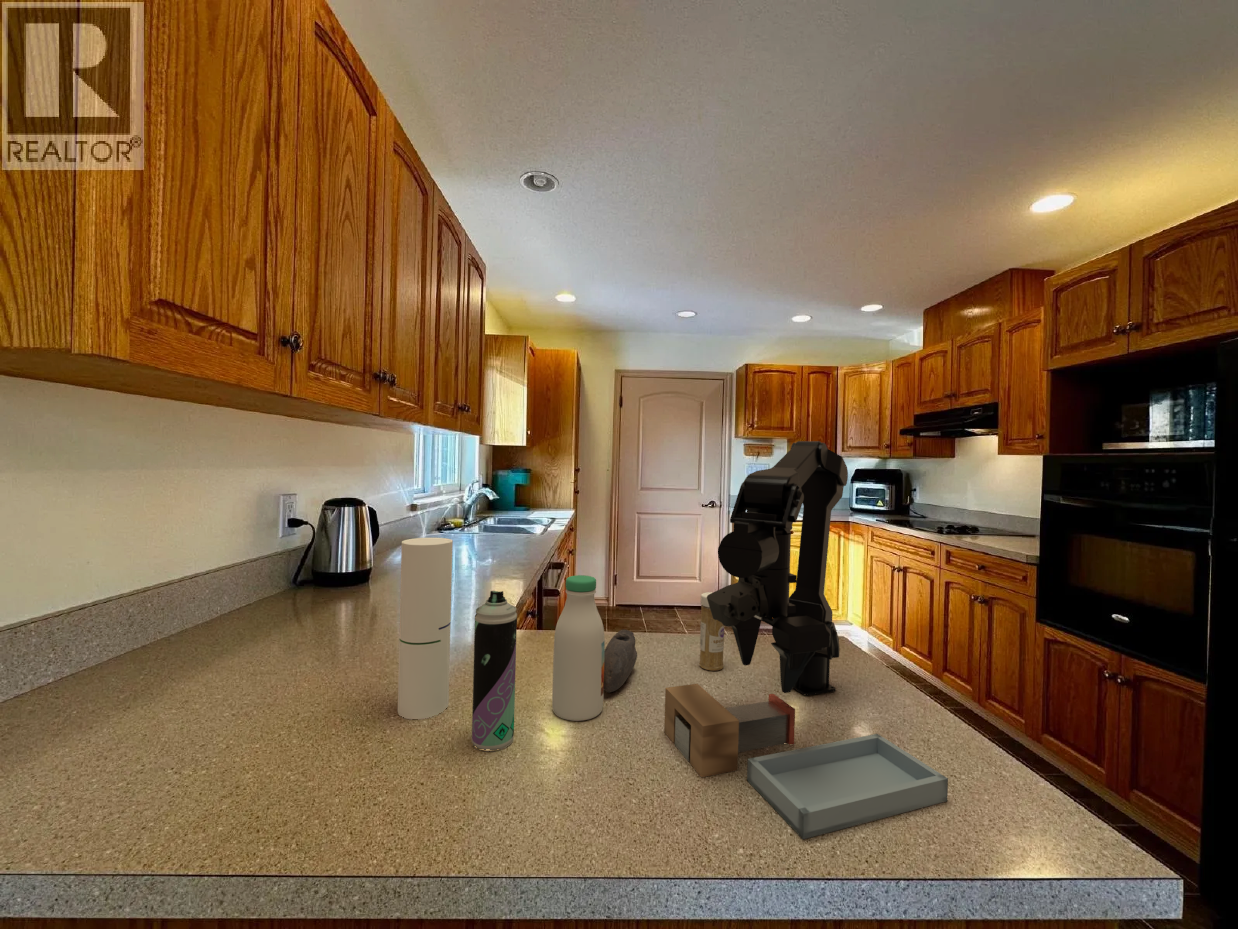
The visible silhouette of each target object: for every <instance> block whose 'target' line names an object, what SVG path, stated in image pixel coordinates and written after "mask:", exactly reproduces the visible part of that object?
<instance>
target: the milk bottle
mask: <svg viewBox="0 0 1238 929" xmlns="http://www.w3.org/2000/svg"><path fill="white" fill-rule="evenodd" d="M596 588H597V579H596V577H594V576H591V575H580V574H578V575H577V574H576V575H571V576H568V577H567V578H566V579H565V593H566V600H565V603H564V607H563V609H562V611H561V614H560V616H559V617H558V620H557V623H556V625H555V630H554V635H553V636H554V638H553V639H554V640H553V658H552V659H553V662H552V692H551V693H552V695H551V708H552V711H553V713H554V714H555V715H556V716H557V717H559V718H560V719H564V720H568V721H573V722H574V721H575V722H577V721H578V722H581V721H586V720H587V721H588V720H592V719H594V718H595V717H597V716H599V715H600V714H601V712H602V711H603V708H604V691H605V690H604V652H605V648H606V647H605V641H606V640H605V628H604V624H603V620H602V617H601V615H600V613H599V610H598V607H597V604H596V600H595V594H597V591H596V590H597V589H596Z"/></svg>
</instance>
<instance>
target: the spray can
mask: <svg viewBox="0 0 1238 929" xmlns="http://www.w3.org/2000/svg"><path fill="white" fill-rule="evenodd" d="M489 593H490V594H489V597H488V599H486V600H485V603H484V604H482V605H480V606H478V607H477V608H476V609H475V613H476V614H475V615H474V634H473V636H474V637H473V671H472V673H473V675H472V677H473V678H472V679H473V680H472V714H471V715H472V717H471V744H472V743H473V745H474V746H476V747H477V748H479V749H484V750H486V749H490V750H497V749H501V750H504V749H506V748H507V746H508V747H509V746H510V745H511V744H512V743H513V742H514V738H515V737H514V736H515V707H516V705H515V702H516V701H515V700H516V666H517V664H516V662H517V629H518V628H517V627H518V626H517V624H518V613H517V607H516V606H515V605H512V604H511V603H509V602H508V600H507V599H506V597H505V596H504V591H503V590H502V591H496V590H490V592H489ZM473 745H472V746H473ZM503 748H504V749H503Z"/></svg>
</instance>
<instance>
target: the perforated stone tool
mask: <svg viewBox="0 0 1238 929" xmlns="http://www.w3.org/2000/svg"><path fill="white" fill-rule="evenodd" d="M637 658H638V652H637V649H636V638H635V634H634V632H633V631H631V630H628V629H620V630H619V631H618V632H616V633H615V634H614V635H613V636H612V637H611V639H609V642H608V643H607V645H606V647H605V652H604V691H605V693H612V692H616V691H617V690H619V689H620V688H621V687H622V686H623V685H624V683H625V682H626V681H627V680H628V678H629V677H630V675H631V673H632V671H633V670H634V668H635V665H636V662H637Z"/></svg>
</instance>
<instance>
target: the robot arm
mask: <svg viewBox="0 0 1238 929" xmlns="http://www.w3.org/2000/svg"><path fill="white" fill-rule="evenodd" d="M848 475H849V471H848V466H847V464H846V462H845V459H844V458H843V456H842V455H841V454H837V453H836V452H834V451H832V450H830V449H829V448H828V447H827V444H826V442H821V441H819V440H817V441H815V440H812V441H811V440H809V441H806V440H805V441H802V440H800V441H799V440H797V441H796V442H793V443H792V444H791V446H790V450H788V452H786V454H784V455H783V457H782V458H781V459H779V461H778V462H776V463H775V464H774V465H773V467H771V468H767V469H760V470H756V471H753V472H750V473H749V474H748V475H746V477H745V479H744V481H742V483H741V485H740V486H739V490H738V494H737V496H736V499H735V502H734V505H733V508H732V512H731V514H730V518H729V523H731V524H733V530H732V531H731V532H729V533H727V534H726V535H724V536H723V537H722V539H721V541H720V543H719V545H718V547H717V556H718V557H717V558H718V560H719V563H720V565H721V567H722V569H724V571H725V572H726V573H728V574H729V575H731V577H734V578H738V580H737V582H735V583H732V584H728V585H726V586H723V587H722V588H720V589H717V590H716V591H714V592H713V593H711V594H709V595H708V596H707V600H708V604H709V607H710V610H711V613H712V617H713V619H714V620H718V621H720V622H721V623H722V624H723V625H724V627H729V628H730V627H731V629H732V632H733V634H734V639H735V641H736V642H735V643H736V646H737V651H738V653H739V657H740V660H741V664H742V665H743V666H749V665H751V662H752V659H753V657H754V653H755V648H756V643H757V641H758V637H759V632H760V628H761V625H762V622H763V623H766V624H767V625H769V626H771V629H772V630H771V635H772V637H773V640H774V642H771V643H770V644H771V646H772V647H773V648H774V649H775V650H776V652H778V654H779V668H780V669H779V673H780V685H781V691H782V693H783V694H789V693H791V692H792V690H793V689H794V690H796V691H797V692H799V693H800V694H802V695H804V696H813V695H819V694H825V693H832V692H836V690H837V688H836V687H835V686H834V685H832V684H830V666H831V664H830V662H831V660H833V659H835V658H836V659H838V658H840V650H841V648H840V639H839V635H838V632H837V629H836V626H835V622H833V609H832V607H831V606H830V604H829V602H828V600H827V598H826V596H825V583H826V574H827V564H828V563H827V562H828V550H829V541H830V530H831V518H832V510H833V509H834V508H835V506H836V505H837V504H838V503H839V502H840V500H841V499H842V497H843V495H844V487H845V486H847V484H848V480H849V478H848V477H849V476H848ZM802 506H803V509H802ZM801 509H802V511H803V512H802V519H801V520H802V521H801V531H800V538H799V539H800V540H799V550H798V563H797V570H796V572H797V573H796V574H794V573H791V542H792V541H791V539H792V538H791V537H792V533H791V532H792V530H793V524H794V523H797V520H798V518H799V515H800V511H801ZM790 584H795V588H794V589H795V590H793V592H792V593H791V595H790Z"/></svg>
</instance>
